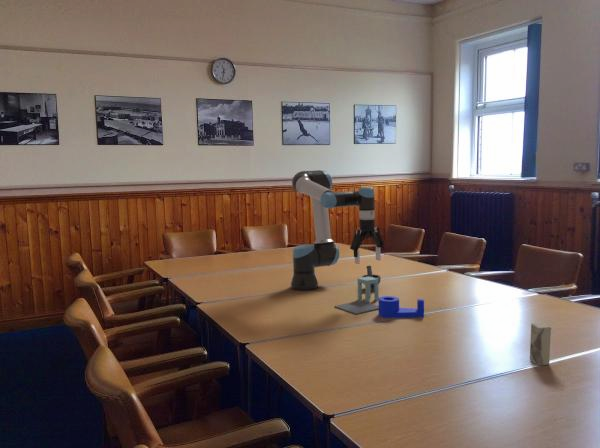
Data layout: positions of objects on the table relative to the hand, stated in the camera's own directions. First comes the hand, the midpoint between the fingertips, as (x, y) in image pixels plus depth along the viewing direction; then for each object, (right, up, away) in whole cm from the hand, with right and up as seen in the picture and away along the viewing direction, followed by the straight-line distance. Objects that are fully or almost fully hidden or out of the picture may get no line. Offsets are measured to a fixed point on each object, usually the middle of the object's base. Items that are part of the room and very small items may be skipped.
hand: (367, 261), depth 255 cm
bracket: (+12, -22, -25) cm, 35 cm away
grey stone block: (+46, -28, -83) cm, 99 cm away
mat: (-6, -21, -11) cm, 24 cm away
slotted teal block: (0, -19, +2) cm, 19 cm away
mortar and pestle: (+5, -17, +26) cm, 31 cm away
